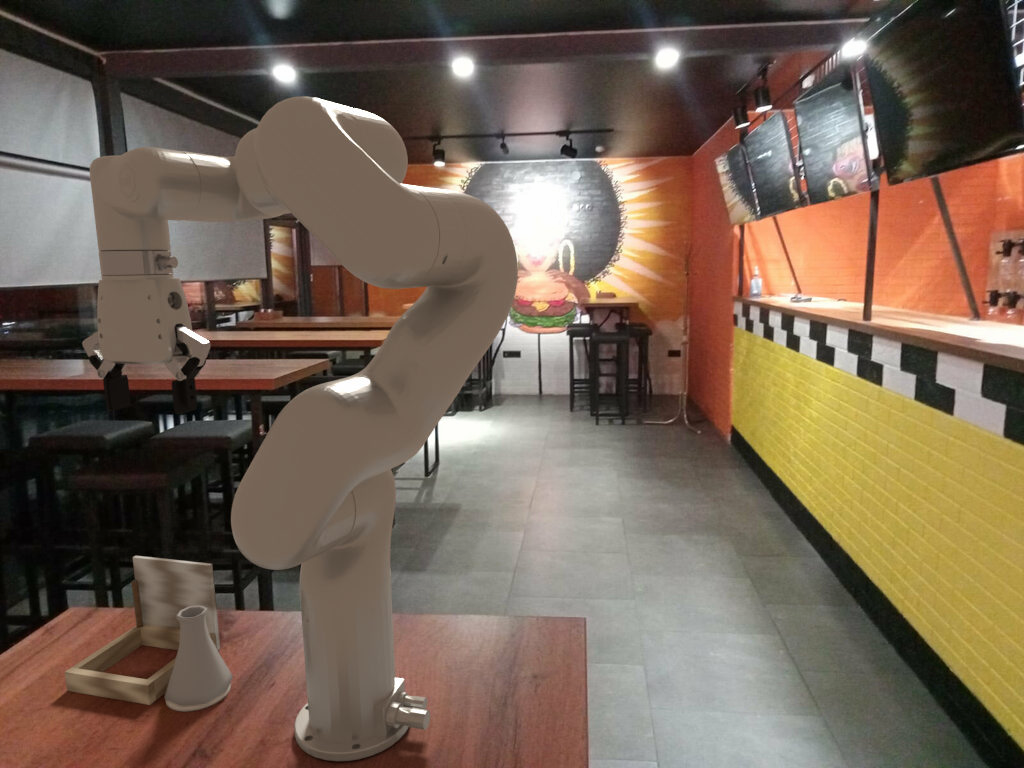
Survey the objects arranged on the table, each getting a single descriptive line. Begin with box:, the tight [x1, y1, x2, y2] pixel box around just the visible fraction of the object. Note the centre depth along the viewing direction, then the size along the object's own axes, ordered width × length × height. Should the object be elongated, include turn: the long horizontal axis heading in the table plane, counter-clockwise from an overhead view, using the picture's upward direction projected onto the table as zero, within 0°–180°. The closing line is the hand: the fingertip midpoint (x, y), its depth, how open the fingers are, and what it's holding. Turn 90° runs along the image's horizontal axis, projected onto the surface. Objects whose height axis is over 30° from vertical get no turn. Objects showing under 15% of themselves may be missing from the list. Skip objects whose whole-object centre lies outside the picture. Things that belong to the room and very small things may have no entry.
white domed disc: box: [164, 681, 232, 713], centre depth 86 cm, size 7×7×1 cm
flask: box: [164, 606, 234, 706], centre depth 85 cm, size 7×7×10 cm
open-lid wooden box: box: [64, 555, 221, 706], centre depth 90 cm, size 12×13×12 cm
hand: (152, 410), depth 87 cm, fingers open, 9 cm apart
